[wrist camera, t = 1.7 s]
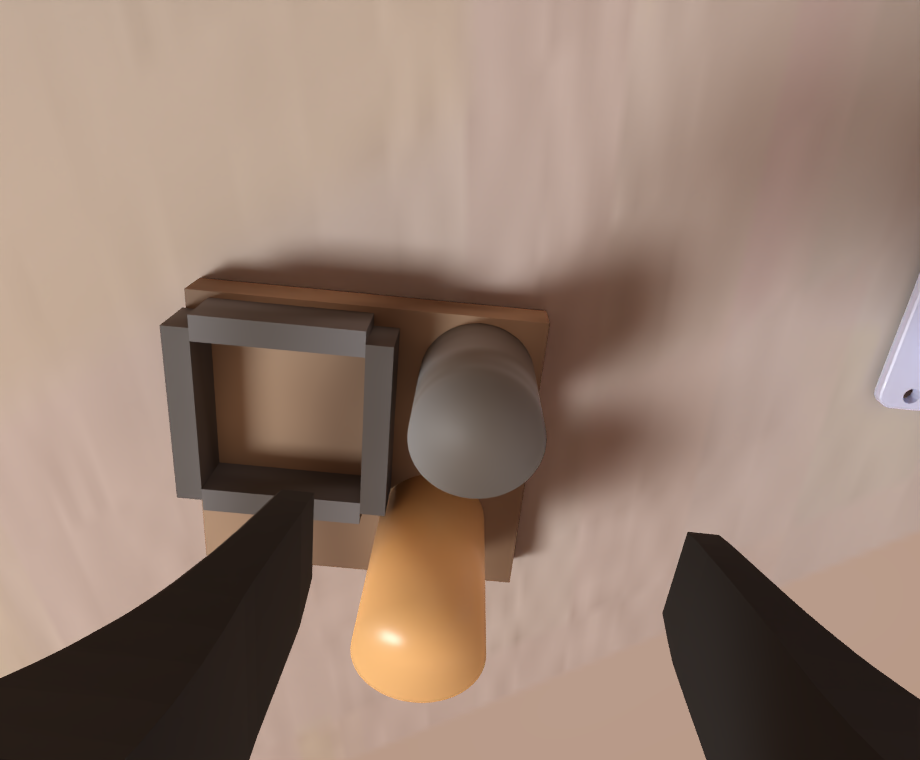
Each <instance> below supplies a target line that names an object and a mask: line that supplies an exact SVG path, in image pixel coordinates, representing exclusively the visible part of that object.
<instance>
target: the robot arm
mask: <svg viewBox="0 0 920 760" xmlns="http://www.w3.org/2000/svg"><path fill="white" fill-rule="evenodd" d="M910 389H913V392H912V393H911V395H910V396H908V397H906V398H903V395H904V394H905V393H906V392H907V391H908V390H910ZM874 395H875V398H876V400H877V401H879V402H880V403H881V404H882V405H883V406H885V407H888V408H895V409H906V410H917V411H920V274H919V276H918V279H917V281H916V284H915V287H914V289H913V292H912V294H911V297H910V300H909V302H908V305H907V307H906V310H905V313H904V315H903V318H902V320H901V323H900V326H899V328H898V331H897V333H896V336H895V339H894V341H893V344H892V346H891V349H890V351H889V354H888V357H887V359H886V362H885V364H884V367H883V370H882V372H881V375H880V377H879V380H878V383H877V385H876V388H875V393H874ZM313 519H314V493H312V492H302V491H293V490H283V489H282V490H281V491H279V492H278V493H277V494H276V495H274V496H273V497H272V498H271V499H270V500H269V501H268V502H267V503H266V504H265V505H264V506H263V507H262V508H261V509H260V510H259V511H258V512H257V513H255V514H254V515H253V516H252V517H251V518H250V519H249V520H248V521H247V522H246V523H245V524H244V525H242V526H241V527H240V528H239V529H238V530H237V531H236V532H235V533H233V534H232V535H231V536H230V537H229V538H228V539H227V540H225V541H224V542H223V543H222V544H221V545H220V546H218V547H217V548H216V549H215V550H214V551H213V552H211V553H210V554H209V555H208V556H207V557H205V558H204V559H203V560H202V561H200V562H199V563H198V564H196V565H195V566H194V567H192V568H191V569H190V570H189V571H187V572H186V573H185V574H183V575H182V576H181V577H180V578H178V579H177V580H176V581H174V582H173V583H172V584H170V585H169V586H167V587H166V588H165V589H163V590H162V591H160V592H159V593H158V594H156V595H155V596H153V597H152V598H150V599H149V600H147V601H146V602H144V603H143V604H141V605H140V606H138V607H136V608H135V609H133V610H132V611H130V612H129V613H127V614H125V615H124V616H122V617H120V618H119V619H117V620H115V621H113V622H111V623H110V624H108V625H106V626H104V627H102V628H101V629H99V630H97V631H95V632H93V633H92V634H90V635H88V636H86V637H84V638H83V639H81V640H79V641H77V642H75V643H74V644H72V645H70V646H68V647H66V648H64V649H62V650H60V651H58V652H56V653H54V654H52V655H50V656H48V657H46V658H44V659H42V660H40V661H37V662H35V663H33V664H31V665H29V666H27V667H24V668H22V669H20V670H18V671H16V672H13V673H11V674H9V675H7V676H4V677H2V678H0V760H249V759H250V756H251V753H252V750H253V747H254V744H255V741H256V738H257V735H258V733H259V730H260V728H261V725H262V723H263V720H264V717H265V715H266V712H267V710H268V707H269V705H270V702H271V699H272V697H273V694H274V692H275V689H276V687H277V684H278V681H279V679H280V676H281V674H282V671H283V669H284V666H285V663H286V661H287V658H288V656H289V653H290V650H291V648H292V645H293V643H294V640H295V637H296V635H297V632H298V629H299V627H300V623H301V619H302V615H303V612H304V608H305V604H306V600H307V596H308V592H309V588H310V584H311V580H312V558H313ZM663 618H664V623H665V629H666V634H667V639H668V644H669V648H670V653H671V657H672V661H673V665H674V668H675V671H676V674H677V677H678V680H679V683H680V686H681V689H682V692H683V694H684V698H685V700H686V703H687V706H688V709H689V712H690V715H691V717H692V720H693V723H694V726H695V729H696V731H697V734H698V737H699V740H700V743H701V746H702V748H703V751H704V754H705V757H706V759H707V760H920V699H919V698H917V697H915V696H914V695H913V694H911V693H910V692H908V691H907V690H905V689H904V688H903V687H901V686H900V685H898V684H897V683H896V682H894V681H893V680H891V679H890V678H889V677H887V676H886V675H884V674H883V673H882V672H880V671H879V670H877V669H876V668H875V667H873V666H872V665H871V664H869V663H868V662H867V661H865V660H864V659H863V658H861V657H860V656H859V655H857V654H856V653H855V652H854V651H852V650H851V649H850V648H849V647H847V646H846V645H845V644H844V643H842V642H841V641H840V640H839V639H837V638H836V637H835V636H834V635H833V634H831V633H830V632H829V631H828V630H826V629H825V628H824V627H823V626H822V625H820V624H819V623H818V622H817V621H815V620H814V619H813V618H812V617H811V616H810V615H809V614H807V613H806V612H805V611H804V610H803V609H802V608H801V607H799V606H798V605H797V604H796V603H795V602H794V601H792V600H791V599H790V598H789V597H788V596H787V595H786V594H785V593H784V592H782V591H781V590H780V589H779V588H778V587H777V586H776V585H775V584H774V583H773V582H771V581H770V580H769V579H768V578H767V577H766V576H765V575H764V574H763V573H762V572H760V571H759V570H758V569H757V568H756V567H755V566H754V565H753V564H752V563H751V562H750V561H748V560H747V559H746V558H745V557H744V556H743V555H742V554H741V553H740V552H738V551H737V550H736V549H735V548H734V547H733V546H732V545H730V544H729V543H728V542H727V541H726V540H724V539H723V538H722V537H721V536H719V535H713V534H703V533H694V532H688V533H687V536H686V539H685V542H684V545H683V549H682V552H681V555H680V558H679V562H678V565H677V568H676V571H675V574H674V578H673V581H672V584H671V587H670V591H669V594H668V597H667V600H666V604H665V607H664V610H663Z"/></svg>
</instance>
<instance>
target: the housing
mask: <svg viewBox="0 0 920 760" xmlns="http://www.w3.org/2000/svg"><path fill="white" fill-rule="evenodd" d="M185 301H186V308H181V309H180V310H179V311H178V312H176V313H175V314H174V315H172V316H171V317H170V318H169V319H167V320H166V321H165V322H163V323H162V324H161V325H160V333H161V343H162V353H163V363H164V372H165V382H166V392H167V402H168V412H169V422H170V432H171V442H172V452H173V462H174V472H175V482H176V492H177V497H178V498H189V499H200V500H202V507H203V519H204V532H205V544H206V555H207V556H208V555H209V554H210V553H211V552H213V551H214V550H215V549H216V548H217V547H218V546H220V545H221V544H222V543H223V542H224V541H225V540H227V539H228V538H229V537H230V536H231V535H232V534H233V533H235V532H236V531H237V530H238V529H239V528H240V527H241V526H242V525H244V524H245V523H246V522H247V521H248V520H249V519H250V518H251V517H252V516H253V515H254V514H255V513H257V512H258V511H259V510H260V509H261V508H262V507H263V506H264V505H265V504H266V503H267V502H268V501H269V500H270V499H271V498H272V497H273V496H274V495H276V494H277V493H278V492H279V491H281V490H282V489H283V490H293V491H302V492H312V493H314V519H313V558H312V565H319V566H331V567H342V568H353V569H364V570H368V565H369V561H370V557H371V552H372V548H373V543H374V539H375V534H376V530H377V525H378V521H379V517H380V516H385V513H386V508H387V503H388V499H389V494H390V491H391V490H392V489H393V488H394V487H395V486H396V485H398V484H399V483H401V482H402V481H404V480H406V479H409V478H412V477H415V476H419V475H422V476H423V477H424V478H425V479H426V480H427V481H429V482H430V483H431V484H432V485H434V486H435V487H437V488H438V489H440V490H442V491H444V492H446V493H449V494H452V495H455V496H458V497H463V498H470V499H479V501H480V503H481V505H482V508H483V512H484V545H485V580H487V581H499V582H510V576H511V569H512V563H513V556H514V550H515V544H516V537H517V531H518V524H519V518H520V511H521V505H522V498H523V492H524V486H525V482H526V481H527V480H528V479H529V478H530V477H531V476H532V475H533V473H534V472H535V471H536V470H537V468H538V466H539V464H540V463H541V461H542V458H543V456H544V452H545V448H546V429H545V423H544V418H543V413H542V408H541V402H540V397H539V389H540V383H541V376H542V370H543V363H544V357H545V350H546V344H547V338H548V331H549V325H550V323H549V319H548V316H547V312H546V311H543V310H532V309H522V308H511V307H501V306H490V305H480V304H469V303H459V302H448V301H438V300H427V299H417V298H406V297H396V296H385V295H375V294H364V293H354V292H343V291H333V290H322V289H312V288H301V287H291V286H280V285H270V284H259V283H249V282H238V281H228V280H217V279H207V278H199V279H197V280H196V281H195V282H193V283H192V284H190V285H189V286H188V287H186V288H185Z"/></svg>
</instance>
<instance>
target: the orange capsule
mask: <svg viewBox="0 0 920 760" xmlns="http://www.w3.org/2000/svg"><path fill="white" fill-rule="evenodd" d="M351 658H352V662H353V664H354V667H355V669H356V670H357V672H358V674H359V675H360V676H361V677H362V679H363V680H364V681H365V682H366V683H367V684H368V685H370V686H371V687H372V688H374V689H375V690H377V691H379V692H380V693H382V694H384V695H387V696H389V697H392V698H395V699H398V700H402V701H407V702H417V703H426V702H436V701H441V700H445V699H448V698H451V697H454V696H456V695H458V694H460V693H462V692H463V691H465V690H466V689H468V688H469V687H470V686H471V685H472V684H474V682H475V681H476V680H477V679H478V678H479V676H480V674H481V673H482V670H483V668H484V665H485V661H486V619H485V545H484V512H483V508H482V505H481V503H480V501H479V499H470V498H463V497H458V496H455V495H452V494H449V493H446V492H444V491H442V490H440V489H438V488H437V487H435V486H434V485H432V484H431V483H430V482H429V481H427V480H426V479H425V478H424V477H423V476H422V475H419V476H415V477H412V478H409V479H406V480H404V481H402V482H401V483H399V484H398V485H396V486H395V487H394V488H393V489H392V490H391V491H390V494H389V499H388V503H387V508H386V513H385V516H380V517H379V521H378V525H377V530H376V534H375V539H374V543H373V548H372V552H371V557H370V561H369V565H368V570H367V574H366V579H365V583H364V588H363V592H362V597H361V601H360V606H359V610H358V614H357V619H356V623H355V628H354V632H353V637H352V641H351Z"/></svg>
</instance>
